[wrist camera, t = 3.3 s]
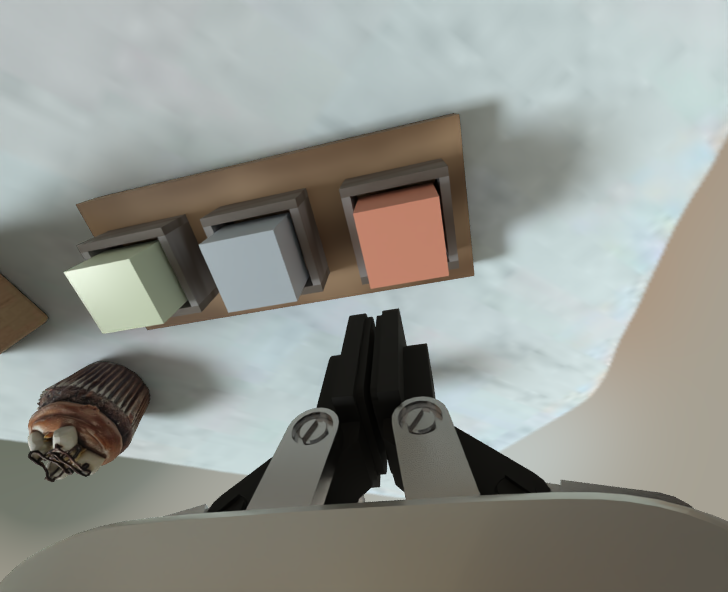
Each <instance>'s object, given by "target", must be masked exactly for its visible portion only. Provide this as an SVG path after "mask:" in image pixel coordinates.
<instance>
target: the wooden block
mask: <svg viewBox="0 0 728 592" xmlns="http://www.w3.org/2000/svg"><path fill="white" fill-rule="evenodd" d="M47 319H48V317H47V315H46V314H45V313H43V312H42V311H41V310H40V309H39V308H38V307H37V306H36V305H35V304H33V303H32V302H31V301H30V300H29V299H28V298H27V297H26V296H24V295H23V294H22V293H21V292H20V291H19V290H18V289H17V288H16V287H14V286H13V285H12V284H11V283H10V282H9V281H8V280H7V279H6V278H4V277H3V276H2V275H1V274H0V354H1V353H2V352H4V351H5V350H7V349H8V348H10V347H11V346H12V345H14V344H15V343H17V342H18V341H20V340H21V339H22V338H24V337H25V336H27V335H28V334H30V333H31V332H33V331H34V330H35V329H37V328H38V327H40V326H41V325H43V324H44V323H45V322H46V321H47Z"/></svg>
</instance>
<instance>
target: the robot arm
mask: <svg viewBox="0 0 728 592" xmlns="http://www.w3.org/2000/svg"><path fill="white" fill-rule="evenodd" d="M387 460H388V463H389V467H390V471H391V473H392V474H393V477H394V481H395V484H396V486H398V487H399V488H400V489H401V490H402V491H404V492H405V498H406V500H394V501H378V502H365V498H364V494H365V493H366V492H367V491H368V490H369V489H370V488H374V487H380V475H381V474H386V473H387ZM0 592H728V521H726V520H724V519H721V518H719V517H716V516H713V515H711V514H708V513H705V512H702V511H699V510H696V509H694V508H692V506H690V505H689V504H687V503H685V502H684V501H682V500H680V499H678V498H676V497H674V496H670V495H666V494H663V493H658V492H650V491H643V490H636V489H627V488H620V487H613V486H612V487H611V486H604V485H597V484H590V483H582V482H574V481H566V480H561V482H560V485H558V484H550V483H545V481H544V480H543V479H541V478H540V477H539V476H537V475H536V474H535V473H533V472H532V471H530V470H528V469H526V468H525V467H523V466H521V465H520V464H518V463H516V462H515V461H513V460H511V459H510V458H508V457H506V456H504V455H503V454H501V453H499V452H498V451H496V450H494V449H492V448H491V447H489V446H487V445H486V444H484V443H482V442H480V441H479V440H477V439H475V438H474V437H472V436H470V435H469V434H467V433H465V432H463V431H462V430H460V429H458V428H457V427H455V426H454V425H453V422H452V420H451V417H450V414H449V412H448V410H447V408H446V407H445V405H444V404H443V403H441V402H440V401H439V400H436V399H435V392H434V384H433V377H432V371H431V365H430V359H429V353H428V347H427V343H426V344H418V345H411V346H407V345H406V340H405V335H404V330H403V325H402V321H401V316H400V311H399V308H398V309H392V310H385V311H382V315H380V316H377V319H376V327H375V323H374V319H373V317H367V315H366V313H365V314H359V315H352V316H349V320H348V325H347V329H346V334H345V338H344V343H343V347H342V352H341V355H336V356H331V357H330V359H329V362H328V366H327V370H326V374H325V378H324V381H323V385H322V389H321V393H320V397H319V400H318V404H317V408H313V409H310V410H308V411H305V412H303V413H302V414H300V415H298V416H297V417H296V418H295V419H294V420H293V421H292V422H291V423H290V425H289V426H288V428H287V430H286V432H285V434H284V436H283V438H282V440H281V442H280V444H279V446H278V448H277V450H276V452H275V454H274V456H273V457H272V458H270V459H269V460H268V461H266V462H265V463H264V464H262V465H261V466H260V467H259V468H257V469H256V470H255V471H253V472H252V473H251V474H249V475H248V476H247V477H245V478H244V479H243V480H242V481H240V482H239V483H237V484H236V485H235V486H233V487H232V488H231V489H229V490H228V491H227V492H225V493H224V494H223V495H221V496H220V497H219V498H218V499H217V500H216V501H215V502H214V503H213V504H212V506H211V507H210V508H208V507H207V505H206V504H204V505H201V506H197V507H194V508H191V509H187V510H184V511H180V512H177V513H174V514H170V515H167V516H163V517H155V518H146V519H139V520H131V521H123V522H119V523H114V524H109V525H104V526H100V527H97V528H93V529H90V530H87V531H83V532H80V533H78V534H75V535H72V536H70V537H68V538H66V539H64V540H61V541H58V542H56V543H54V544H52V545H50V546H48V547H46V548H44V549H42V550H41V551H39V552H37V553H35V554H34V555H32V556H30V557H29V558H27V559H26V560H24V561H23V562H22V563H21V564H19V565H18V566H17V567H15V568H14V569H13V570H12V571H11V572H10V573H9V574H8V575H7V576H6V577H5V578H4V579H3V580H2V581H1V582H0Z"/></svg>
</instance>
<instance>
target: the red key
mask: <svg viewBox="0 0 728 592" xmlns="http://www.w3.org/2000/svg"><path fill="white" fill-rule="evenodd" d="M353 216H354V220H355V224H356V229H357V233H358V237H359V241H360V246H361V250H362V254H363V258H364V262H365V267H366V271H367V275H368V279H369V284H370V288H371V289H373V288H379V287H385V286H391V285H397V284H403V283H409V282H415V281H421V280H427V279H433V278H439V277H445V276H449V271H448V263H447V255H446V247H445V239H444V231H443V223H442V216H441V208H440V200H439V195H438V193H437V191H436V189H435V187H434V185H433V183H427V184H423V185H418V186H413V187H408V188H403V189H399V190H394V191H389V192H384V193H379V194H375V195H370V196H365V197H360V198H358V201H357V204H356V206H355V209H354V212H353Z"/></svg>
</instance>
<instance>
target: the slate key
mask: <svg viewBox="0 0 728 592" xmlns="http://www.w3.org/2000/svg"><path fill="white" fill-rule="evenodd" d="M199 247H200V250H201V252H202V254H203V256H204V259H205V261H206V263H207V265H208V268H209V270H210V272H211V274H212V277H213V279H214V281H215V283H216V286H217V288H218V290H219V292H220V295H221V297H222V299H223V301H224V304H225V306H226V308H227V311H228V313H230V312H236V311H242V310H248V309H254V308H260V307H266V306H272V305H278V304H284V303H290V302H296V301H298V299H299V297H300V295H301V292H302V290H303V288H304V286H305V284H306V282H307V280H308V278H309V274H308V271H307V268H306V264H305V261H304V258H303V255H302V252H301V248H300V245H299V242H298V239H297V236H296V233H295V229H294V226H293V223H292V220H291V217H290V213H289V212H288V213H284V214H279V215H274V216H269V217H264V218H260V219H255V220H250V221H245V222H241V223H236V224H231V225H226V226H223V227H222V228H221V229H219V230H218V231H217V232H215V233H214V234H212V235H211V236H210V237H208V238H207V239H206V240H204V241H203V242H202V243H200V244H199Z"/></svg>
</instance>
